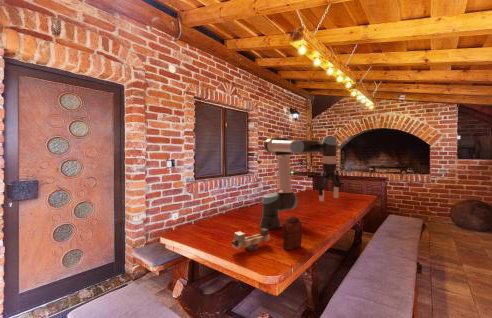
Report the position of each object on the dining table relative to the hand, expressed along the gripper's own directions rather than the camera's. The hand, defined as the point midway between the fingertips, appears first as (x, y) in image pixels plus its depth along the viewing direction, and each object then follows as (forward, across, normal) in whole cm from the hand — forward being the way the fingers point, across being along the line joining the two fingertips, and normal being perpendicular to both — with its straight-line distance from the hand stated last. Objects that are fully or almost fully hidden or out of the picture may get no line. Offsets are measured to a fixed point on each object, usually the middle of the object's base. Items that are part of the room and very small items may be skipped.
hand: (328, 199), depth 148 cm
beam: (+27, -40, +23) cm, 53 cm away
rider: (+22, -48, +23) cm, 57 cm away
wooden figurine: (+27, -20, +10) cm, 35 cm away
